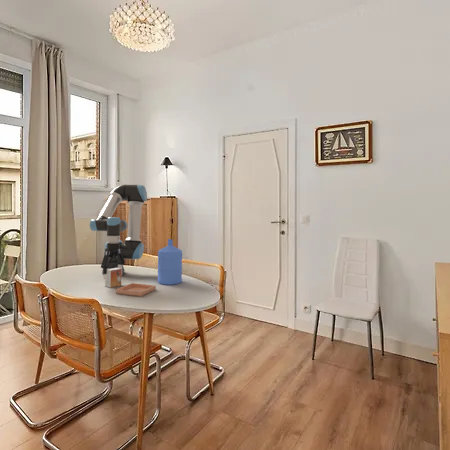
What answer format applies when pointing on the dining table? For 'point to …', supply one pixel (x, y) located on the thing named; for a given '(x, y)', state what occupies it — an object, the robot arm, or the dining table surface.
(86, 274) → the dining table surface
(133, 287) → the holder
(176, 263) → the water jug
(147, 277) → the dining table surface
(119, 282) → the small box
